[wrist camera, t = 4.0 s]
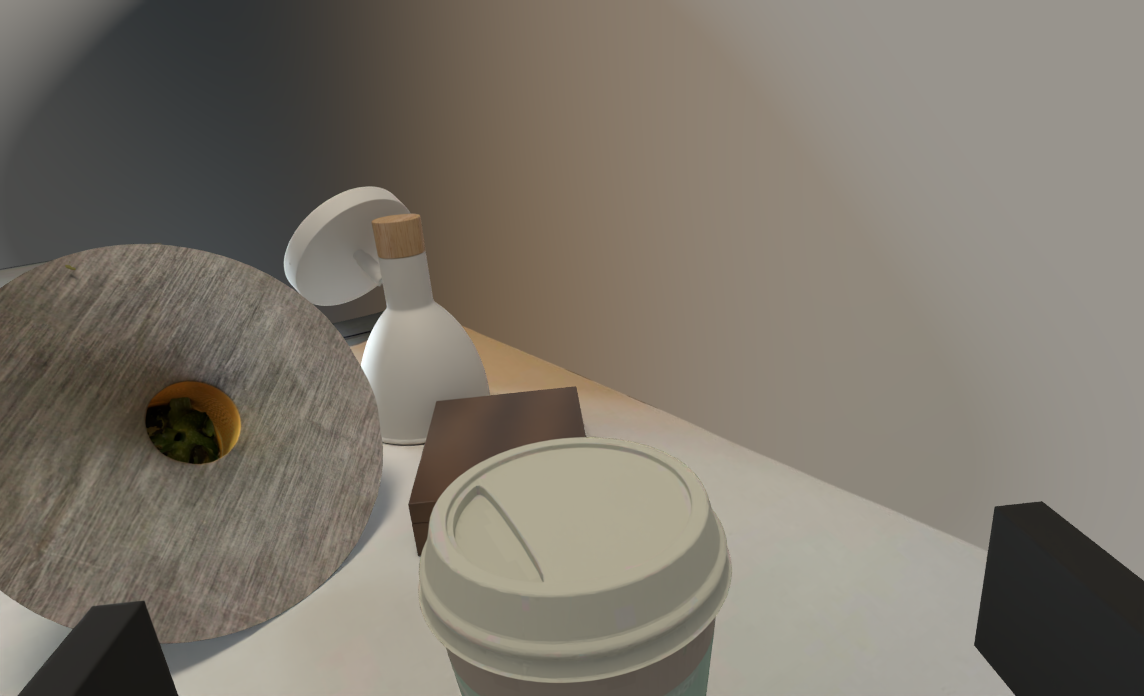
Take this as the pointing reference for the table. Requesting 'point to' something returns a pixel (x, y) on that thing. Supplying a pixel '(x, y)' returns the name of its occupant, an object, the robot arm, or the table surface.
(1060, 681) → the robot arm
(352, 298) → the light fixture
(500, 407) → the wooden trinket box
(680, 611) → the coffee cup
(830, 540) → the table surface
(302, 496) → the grey round piece
